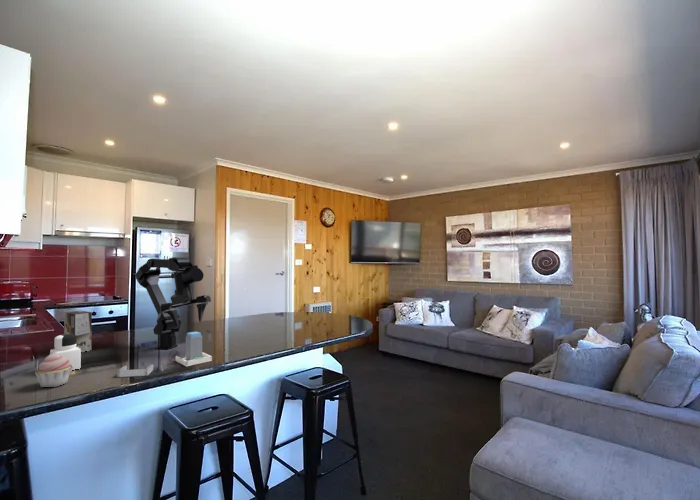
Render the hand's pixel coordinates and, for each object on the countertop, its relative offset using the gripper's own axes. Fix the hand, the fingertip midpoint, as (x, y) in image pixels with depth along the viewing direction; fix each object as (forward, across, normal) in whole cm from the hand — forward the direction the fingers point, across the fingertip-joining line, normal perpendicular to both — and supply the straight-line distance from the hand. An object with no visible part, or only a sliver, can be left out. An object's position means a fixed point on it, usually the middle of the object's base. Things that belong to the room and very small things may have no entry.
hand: (189, 324), depth 147 cm
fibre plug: (+14, +4, -10) cm, 17 cm away
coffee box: (+1, -48, +5) cm, 48 cm away
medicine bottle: (+7, -36, -19) cm, 41 cm away
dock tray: (+14, +4, -10) cm, 18 cm away
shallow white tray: (+13, -10, -24) cm, 29 cm away
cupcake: (+11, -29, -34) cm, 46 cm away
